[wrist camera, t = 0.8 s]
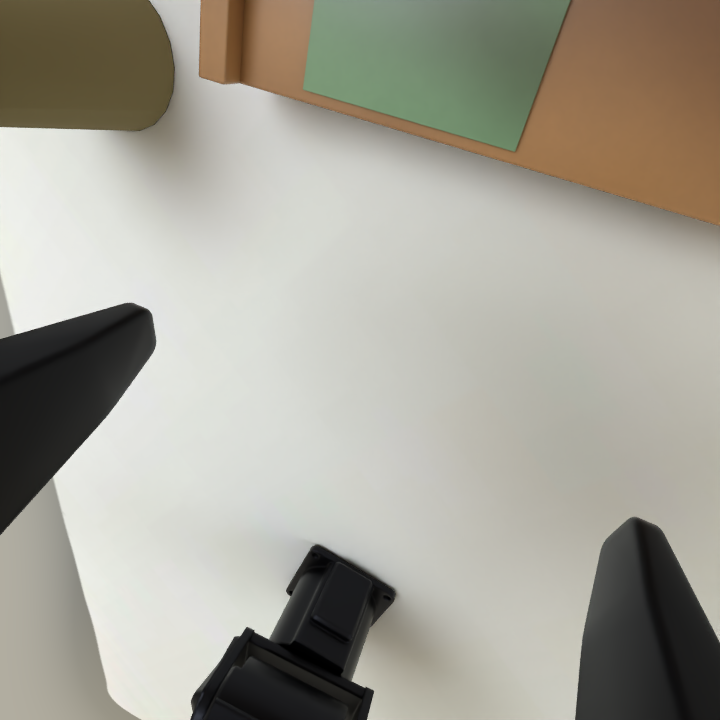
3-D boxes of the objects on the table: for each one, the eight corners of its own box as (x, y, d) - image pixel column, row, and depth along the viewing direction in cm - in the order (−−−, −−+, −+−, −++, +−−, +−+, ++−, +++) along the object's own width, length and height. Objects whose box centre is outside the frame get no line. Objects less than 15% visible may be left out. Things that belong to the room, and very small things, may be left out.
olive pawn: (34, 22, 23) (-310, 0, 14) (115, -67, 20) (-256, -167, 11) (114, 153, 25) (-142, 209, 16) (199, 91, 22) (-58, 116, 13)
